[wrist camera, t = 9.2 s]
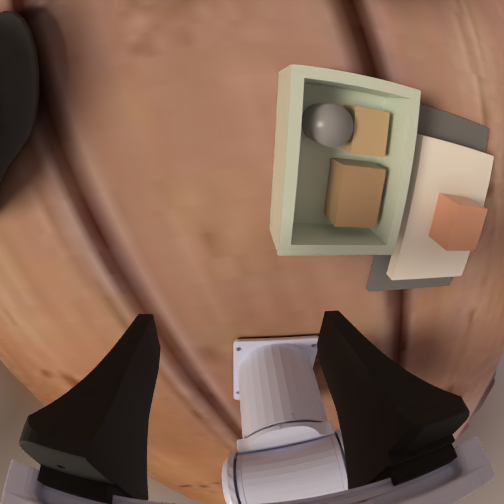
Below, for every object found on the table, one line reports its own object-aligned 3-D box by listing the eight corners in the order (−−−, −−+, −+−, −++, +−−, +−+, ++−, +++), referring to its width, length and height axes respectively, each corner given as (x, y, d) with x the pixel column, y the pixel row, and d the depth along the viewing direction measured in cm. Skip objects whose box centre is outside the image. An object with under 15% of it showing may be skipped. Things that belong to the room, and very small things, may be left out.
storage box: (369, 230, 22) (393, 254, 19) (269, 228, 22) (278, 255, 18) (389, 89, 17) (420, 90, 14) (278, 71, 16) (291, 63, 13)
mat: (446, 282, 26) (449, 285, 25) (366, 288, 25) (368, 291, 24) (485, 127, 18) (488, 128, 18) (400, 99, 17) (403, 99, 17)
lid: (451, 266, 24) (476, 290, 20) (382, 268, 23) (405, 298, 20) (480, 151, 19) (514, 164, 15) (409, 131, 18) (445, 142, 14)
